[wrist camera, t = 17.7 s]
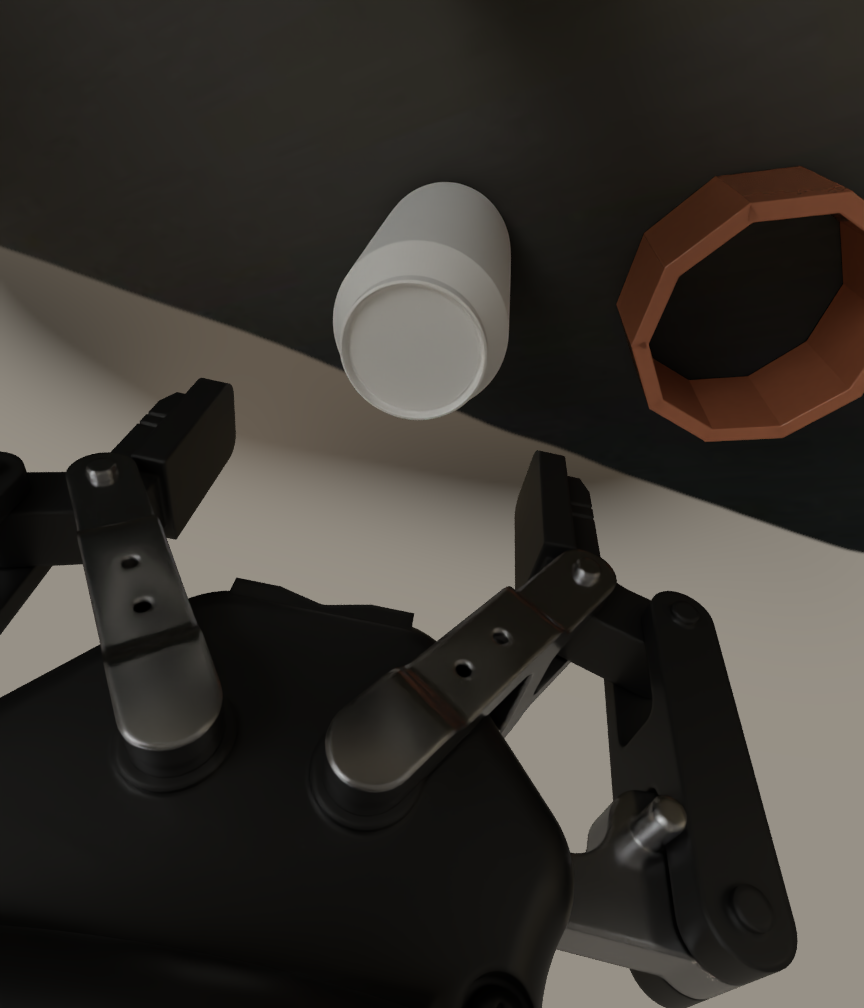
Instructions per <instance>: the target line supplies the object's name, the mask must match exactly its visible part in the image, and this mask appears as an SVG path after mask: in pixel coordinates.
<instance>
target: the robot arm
mask: <svg viewBox="0 0 864 1008" xmlns="http://www.w3.org/2000/svg"><path fill="white" fill-rule="evenodd" d="M235 439H236V430H235V411H234V391H233V387H232V385H231V384H228V383H224V382H219V381H214V380H210V379H205V378H200V379H198V380H197V381H196V383H195V384H194V385H193V386H192V387H191V388H190V389H189V390H188V392H187V393H186V394H183V393H178V392H176V393H174V394H172V395H170V396H168V397H166V398H164V399H162V400H160V401H159V402H158V403H157V404H156V405H155V406H154V407H153V408H152V409H151V410H150V411H149V414H146V415H145V416H144V417H143V418H142V420H141V421H140V424H137V425H136V426H135V427H134V428H133V429H132V430H131V431H130V432H129V433H128V435H127V436H126V437H125V438H124V439H123V440H122V441H121V442H120V443H119V444H118V445H117V446H116V447H115V448H114V449H113V450H112V451H111V452H110V453H109V452H108V453H96V454H91V455H88V456H85V457H83V458H80V459H78V460H77V461H75V462H74V463H73V464H71V466H69V468H68V469H67V472H30V473H29V472H26V469H25V466H24V463H23V461H22V460H21V459H20V458H19V457H17V456H16V455H13V454H10V453H7V452H0V635H1V633H2V632H3V631H4V629H5V628H6V627H7V625H8V624H9V623H10V621H11V620H12V619H13V617H14V616H15V615H16V613H17V612H18V610H19V609H20V608H21V607H22V605H23V604H24V603H25V601H26V600H27V599H28V597H29V596H30V595H31V593H32V592H33V591H34V589H35V588H36V587H37V586H38V584H39V583H40V582H41V580H42V579H43V577H44V576H45V575H46V574H47V572H48V571H49V570H50V568H51V567H52V566H54V565H74V564H83V567H84V571H85V575H86V580H87V585H88V589H89V594H90V599H91V603H92V608H93V612H94V617H95V622H96V626H97V631H98V635H99V639H100V645H98V646H96V647H95V648H92V649H91V650H89V651H87V652H85V653H83V654H81V655H79V656H77V657H76V658H74V659H72V660H70V661H68V662H66V663H65V664H62V665H61V666H59V667H57V668H55V669H53V670H51V671H49V672H47V673H46V674H44V675H42V676H40V677H38V678H36V679H34V680H33V681H31V682H29V683H27V684H25V685H23V686H21V687H19V688H17V689H16V690H14V691H12V692H10V693H8V694H6V695H4V696H3V697H1V698H0V1008H542V1001H543V994H544V989H545V984H546V979H547V975H548V972H549V968H550V965H551V962H552V959H553V956H554V953H555V951H556V949H557V950H561V951H565V952H569V953H572V954H576V955H580V956H584V957H588V958H592V959H595V960H599V961H603V962H607V963H611V964H615V965H619V966H623V967H627V968H630V971H631V973H632V975H633V977H634V979H635V981H636V982H637V983H638V985H639V986H640V988H641V989H642V990H643V991H644V992H645V994H646V995H647V996H649V997H650V998H651V999H652V1000H653V1001H655V1002H656V1003H658V1004H659V1005H661V1006H663V1007H666V1008H687V1007H690V1006H692V1005H695V1004H697V1003H700V1002H702V1001H705V1000H707V999H709V998H712V997H715V996H717V995H720V994H723V993H725V992H728V991H730V990H733V989H735V988H738V987H740V986H742V985H745V984H748V983H750V982H753V981H755V980H758V979H760V978H763V977H766V976H768V975H771V974H773V973H776V972H778V971H781V970H783V969H785V968H786V967H787V966H788V965H789V964H790V963H791V962H792V960H793V959H794V956H795V953H796V950H797V931H796V926H795V922H794V918H793V915H792V911H791V907H790V903H789V900H788V896H787V893H786V889H785V885H784V881H783V877H782V874H781V870H780V866H779V863H778V859H777V855H776V851H775V848H774V844H773V841H772V837H771V833H770V830H769V826H768V822H767V819H766V815H765V811H764V808H763V803H762V800H761V796H760V792H759V789H758V785H757V782H756V778H755V775H754V770H753V767H752V763H751V759H750V755H749V752H748V748H747V744H746V741H745V737H744V733H743V730H742V726H741V722H740V719H739V715H738V711H737V707H736V704H735V700H734V697H733V693H732V689H731V686H730V682H729V678H728V674H727V671H726V667H725V663H724V659H723V656H722V652H721V648H720V645H719V641H718V637H717V634H716V630H715V626H714V623H713V620H712V618H711V616H710V615H709V613H708V612H707V611H706V610H705V608H704V607H703V606H701V605H700V604H699V603H698V602H697V601H695V600H694V599H692V598H690V597H688V596H686V595H684V594H681V593H678V592H673V591H663V592H660V593H658V594H656V595H655V596H654V597H653V599H652V600H649V599H647V598H645V597H642V596H640V595H638V594H636V593H633V592H632V591H629V590H627V589H626V588H624V587H622V586H620V585H619V584H618V583H617V580H616V575H615V572H614V571H613V569H612V568H611V566H610V565H609V564H608V563H607V562H606V561H605V560H604V559H602V558H601V557H600V551H599V546H598V540H597V534H596V528H595V522H594V520H593V518H594V516H593V510H592V509H591V507H592V504H591V499H590V493H589V491H588V490H587V488H586V487H585V486H584V484H583V483H582V481H581V480H580V479H579V478H575V477H570V476H567V468H566V461H565V457H564V456H562V455H557V454H552V453H548V452H543V451H538V450H537V451H536V452H535V453H534V455H533V458H532V461H531V463H530V466H529V469H528V471H527V475H526V477H525V480H524V482H523V485H522V488H521V491H520V493H519V497H518V500H517V504H516V510H515V590H514V589H513V588H512V587H510V586H508V587H506V588H504V589H502V590H501V591H500V592H498V593H497V594H496V595H495V596H493V597H492V598H491V599H490V600H489V601H487V602H486V603H485V604H483V605H482V606H481V607H480V608H478V609H477V610H476V611H475V612H473V613H472V614H471V615H470V616H468V617H467V618H466V619H465V620H463V621H462V622H461V623H459V624H458V625H457V626H456V627H454V628H453V629H452V630H451V631H449V632H448V633H447V634H446V635H444V636H443V637H442V638H441V639H439V640H438V641H435V640H434V639H433V638H431V637H430V636H429V635H427V634H425V633H424V632H422V631H420V630H418V629H416V628H413V627H412V622H413V617H414V613H409V612H404V611H399V610H394V609H389V608H385V607H380V606H374V605H322V604H319V603H317V602H315V601H312V600H310V599H308V598H305V597H303V596H301V595H299V594H296V593H294V592H292V591H289V590H287V589H285V588H283V587H281V586H276V585H270V584H265V583H261V582H256V581H251V580H246V579H241V578H236V580H235V582H234V584H233V586H232V588H231V590H230V591H218V592H211V593H206V594H201V595H198V596H195V597H191V598H189V599H188V597H187V595H186V592H185V589H184V587H183V583H182V581H181V578H180V575H179V572H178V570H177V567H176V564H175V561H174V558H173V555H172V552H171V550H170V547H169V544H168V541H167V538H171V539H177V538H178V536H179V535H180V533H181V531H182V530H183V529H184V527H185V526H186V524H187V522H188V521H189V519H190V518H191V516H192V515H193V513H194V512H195V510H196V508H197V507H198V506H199V504H200V503H201V501H202V499H203V498H204V497H205V495H206V493H207V492H208V490H209V489H210V487H211V486H212V484H213V483H214V481H215V480H216V478H217V477H218V475H219V474H220V472H221V470H222V469H223V467H224V466H225V464H226V463H227V461H228V460H229V458H230V456H231V454H232V452H233V449H234V445H235ZM570 662H572V663H574V664H576V665H579V666H580V667H582V668H584V669H586V670H588V671H590V672H592V673H594V674H596V675H598V676H600V677H602V678H604V685H605V698H606V712H607V725H608V738H609V752H610V764H611V778H612V790H613V802H612V803H611V804H610V805H609V806H608V808H607V809H606V810H605V811H604V812H603V813H602V814H601V815H600V816H599V817H598V818H597V819H596V820H595V822H594V823H593V824H592V826H591V828H590V830H589V834H588V841H587V850H586V852H585V853H570V851H569V847H568V844H567V841H566V839H565V836H564V834H563V832H562V830H561V827H560V825H559V824H558V822H557V820H556V818H555V817H554V815H553V814H552V812H551V811H550V809H549V807H548V806H547V804H546V803H545V801H544V800H543V798H542V797H541V795H540V793H539V792H538V791H537V789H536V787H535V786H534V784H533V783H532V781H531V779H530V778H529V776H528V775H527V773H526V772H525V770H524V769H523V767H522V765H521V764H520V762H519V761H518V759H517V758H516V756H515V755H514V753H513V751H512V750H511V748H510V747H509V745H508V744H507V742H506V741H505V739H504V738H505V737H506V735H507V734H508V733H509V732H510V731H511V730H512V728H513V727H514V726H515V724H516V723H517V722H518V720H519V719H520V718H521V716H522V715H523V713H524V712H525V711H526V710H527V708H528V707H529V706H530V705H531V704H532V702H534V700H535V699H536V698H537V697H538V696H539V695H540V694H541V693H542V692H543V691H544V690H545V689H546V688H547V687H548V686H549V685H550V683H551V682H552V681H553V680H554V679H555V678H556V677H557V676H558V675H559V674H560V673H561V672H562V671H563V670H564V669H565V668H566V667H567V665H568V664H569V663H570Z"/></svg>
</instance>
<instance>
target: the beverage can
mask: <svg viewBox="0 0 864 1008" xmlns="http://www.w3.org/2000/svg"><path fill="white" fill-rule="evenodd" d="M510 277H511V247H510V239H509V234H508V231H507V228H506V225H505V223H504V221H503V219H502V217H501V215H500V213H499V212H498V210H497V209H496V207H495V206H494V205H493V204H492V203H491V202H490V201H489V200H488V199H487V198H486V197H485V196H484V195H482V194H481V193H480V192H478V191H476V190H475V189H473V188H470V187H468V186H465V185H462V184H459V183H453V182H438V183H432V184H428V185H425V186H422V187H420V188H418V189H416V190H414V191H412V192H411V193H409V194H408V195H407V196H405V197H404V198H403V199H402V200H401V201H400V202H399V203H398V204H397V205H396V207H395V208H394V209H393V210H392V212H391V213H390V214H389V216H388V217H387V218H386V220H385V221H384V223H383V224H382V225H381V227H380V228H379V230H378V231H377V233H376V234H375V235H374V237H373V238H372V240H371V241H370V243H369V244H368V245H367V247H366V248H365V250H364V251H363V253H362V254H361V255H360V257H359V258H358V260H357V261H356V263H355V264H354V265H353V267H352V268H351V270H350V271H349V273H348V274H347V276H346V277H345V279H344V281H343V282H342V284H341V286H340V289H339V291H338V294H337V297H336V301H335V305H334V312H333V329H334V336H335V341H336V345H337V348H338V351H339V353H340V356H341V361H342V365H343V368H344V370H345V373H346V375H347V377H348V379H349V380H350V382H351V384H352V385H353V387H354V388H355V389H356V390H357V392H358V393H359V394H360V395H361V396H362V397H363V398H364V399H365V400H366V401H367V402H369V403H370V404H371V405H373V406H374V407H376V408H378V409H379V410H381V411H383V412H385V413H387V414H390V415H392V416H396V417H399V418H404V419H409V420H428V419H434V418H439V417H442V416H445V415H447V414H449V413H452V412H454V411H455V410H457V409H459V408H460V407H461V406H463V405H464V404H465V403H466V402H467V401H468V400H470V399H471V398H473V397H474V396H476V395H477V394H478V393H480V392H481V391H482V390H483V389H484V388H485V387H486V386H487V385H488V384H489V383H490V382H491V381H492V379H493V378H494V376H495V375H496V373H497V372H498V370H499V368H500V366H501V364H502V362H503V359H504V357H505V353H506V350H507V345H508V337H509V311H510Z"/></svg>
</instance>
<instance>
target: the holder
mask: <svg viewBox="0 0 864 1008" xmlns="http://www.w3.org/2000/svg"><path fill="white" fill-rule="evenodd" d="M826 214H830V215H831V216H833V217H834V218H835V219H837V220H838V221H839V222H840V235H841V252H842V270H843V285H842V286H841V288H840V289H839V291H838V293H837V294H836V296H835V297H834V299H833V300H832V302H831V304H830V305H829V307H828V308H827V310H826V311H825V313H824V314H823V316H822V318H821V319H820V321H819V322H818V324H817V325H816V327H815V329H814V330H813V332H812V333H811V335H810V336H809V338H808V340H807V341H806V342H804V343H803V344H801V345H799V346H798V347H796V348H794V349H793V350H791V351H789V352H787V353H786V354H784V355H782V356H781V357H779V358H777V359H776V360H774V361H772V362H771V363H769V364H767V365H766V366H764V367H762V368H761V369H759V370H757V371H756V372H754V373H752V374H751V375H749V376H743V377H728V378H713V379H698V380H688V379H686V378H684V377H683V376H681V375H679V374H678V373H676V372H674V371H673V370H671V369H670V368H668V367H666V366H665V365H663V364H661V363H660V362H658V361H656V360H655V359H653V358H652V354H651V351H650V347H649V342H650V340H651V338H652V336H653V333H654V331H655V329H656V327H657V325H658V322H659V320H660V318H661V316H662V313H663V311H664V309H665V307H666V305H667V302H668V300H669V298H670V296H671V293H672V291H673V289H674V287H675V285H676V282H677V280H678V278H679V276H680V275H682V274H683V273H684V272H686V271H687V270H689V269H690V268H691V267H693V266H694V265H695V264H697V263H698V262H699V261H701V260H702V259H704V258H705V257H706V256H708V255H709V254H710V253H712V252H713V251H715V250H716V249H717V248H719V247H720V246H721V245H723V244H724V243H725V242H727V241H728V240H730V239H731V238H732V237H734V236H735V235H736V234H738V233H739V232H740V231H742V230H743V229H745V228H746V227H747V226H749V225H750V224H751V223H754V222H763V221H772V220H781V219H790V218H799V217H808V216H817V215H826ZM616 305H617V308H618V312H619V315H620V318H621V322H622V325H623V329H624V332H625V336H626V339H627V343H628V346H629V350H630V353H631V357H632V360H633V363H634V366H635V369H636V372H637V375H638V378H639V381H640V384H641V387H642V390H643V392H644V395H645V398H646V401H647V404H648V407H649V409H651V410H652V411H654V412H656V413H658V414H659V415H661V416H663V417H664V418H666V419H668V420H670V421H671V422H673V423H675V424H676V425H678V426H680V427H681V428H683V429H685V430H687V431H688V432H690V433H692V434H693V435H695V436H697V437H699V438H700V439H702V440H704V442H711V441H731V440H752V439H772V438H784V437H785V436H787V435H789V434H791V433H793V432H795V431H797V430H799V429H800V428H802V427H804V426H806V425H808V424H810V423H812V422H814V421H816V420H818V419H819V418H821V417H823V416H825V415H827V414H829V413H831V412H833V411H835V410H837V409H838V408H840V407H842V406H844V405H846V404H848V403H850V402H852V401H854V400H855V399H857V398H859V397H861V396H862V394H863V393H864V200H863V199H862V198H861V197H859V196H858V195H857V194H855V193H854V192H853V191H852V190H850V189H848V188H845V187H843V186H841V185H839V184H837V183H835V182H833V181H831V180H829V179H827V178H825V177H823V176H821V175H819V174H817V173H814V172H812V171H810V170H808V169H806V168H804V167H802V166H797V167H789V168H781V169H773V170H765V171H757V172H749V173H741V174H733V175H725V176H715V177H714V178H713V179H711V180H710V181H709V182H708V183H706V184H705V185H704V186H703V187H701V188H700V189H699V190H698V191H696V192H695V193H694V194H692V195H691V196H690V197H689V198H687V199H686V200H685V201H684V202H682V203H681V204H680V205H679V206H677V207H676V208H675V209H674V210H672V211H671V212H670V213H669V214H667V215H666V216H665V217H664V218H662V219H661V220H660V221H659V222H657V223H656V224H655V225H654V226H652V227H651V228H650V229H649V230H647V231H646V232H645V233H644V235H643V237H642V240H641V243H640V245H639V248H638V250H637V253H636V255H635V258H634V260H633V263H632V266H631V268H630V271H629V273H628V276H627V278H626V281H625V283H624V286H623V288H622V291H621V294H620V296H619V299H618V301H617V304H616Z"/></svg>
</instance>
